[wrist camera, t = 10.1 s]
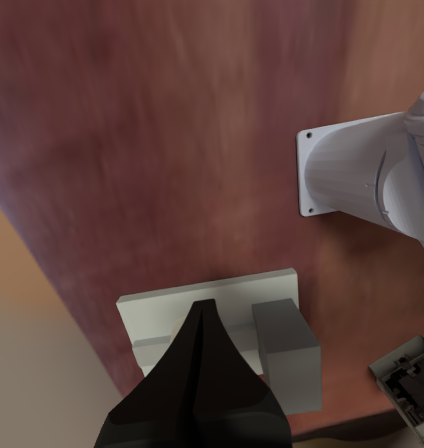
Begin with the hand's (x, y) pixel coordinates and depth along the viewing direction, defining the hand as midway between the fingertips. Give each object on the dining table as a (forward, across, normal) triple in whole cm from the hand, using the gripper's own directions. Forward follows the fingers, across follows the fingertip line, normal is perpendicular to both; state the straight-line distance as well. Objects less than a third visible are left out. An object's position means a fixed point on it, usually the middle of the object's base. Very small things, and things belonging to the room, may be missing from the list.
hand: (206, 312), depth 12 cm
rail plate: (+9, +1, +11) cm, 15 cm away
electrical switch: (+10, -22, +20) cm, 31 cm away
